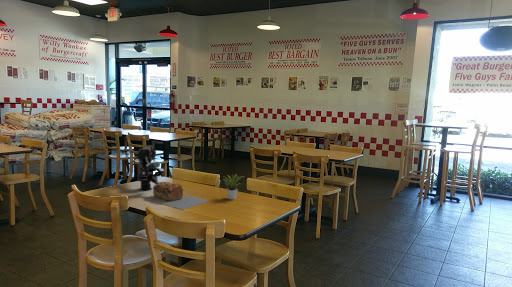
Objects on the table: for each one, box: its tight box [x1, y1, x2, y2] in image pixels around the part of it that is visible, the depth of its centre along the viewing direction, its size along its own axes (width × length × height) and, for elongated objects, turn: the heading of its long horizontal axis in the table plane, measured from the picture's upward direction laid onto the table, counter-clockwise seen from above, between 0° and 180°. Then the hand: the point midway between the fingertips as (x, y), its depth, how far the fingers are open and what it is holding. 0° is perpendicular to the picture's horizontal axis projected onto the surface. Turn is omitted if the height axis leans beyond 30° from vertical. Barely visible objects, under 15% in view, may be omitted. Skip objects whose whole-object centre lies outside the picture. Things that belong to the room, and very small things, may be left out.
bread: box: [152, 181, 184, 202], centre depth 233 cm, size 19×11×10 cm, turn 49°
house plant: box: [222, 173, 245, 200], centre depth 237 cm, size 14×14×16 cm
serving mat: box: [161, 195, 210, 211], centre depth 225 cm, size 18×24×1 cm
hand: (157, 184), depth 237 cm, fingers closed, pressing on bread
